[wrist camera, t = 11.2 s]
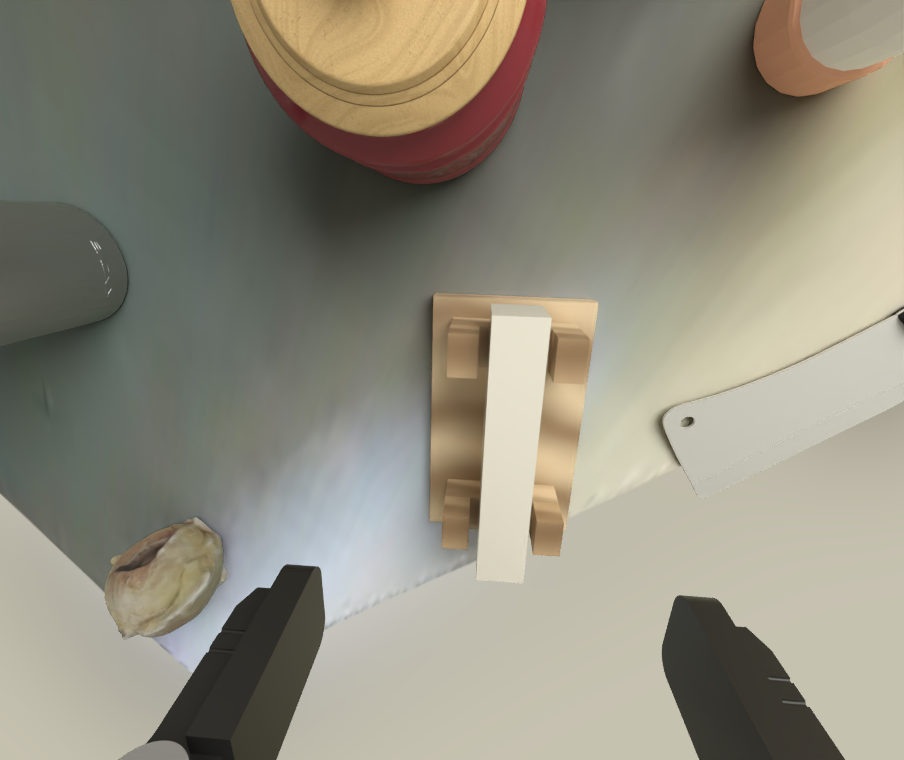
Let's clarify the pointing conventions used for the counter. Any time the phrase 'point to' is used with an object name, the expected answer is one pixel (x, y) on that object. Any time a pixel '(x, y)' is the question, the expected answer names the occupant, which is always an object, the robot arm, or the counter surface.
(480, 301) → the wooden plate with pegs
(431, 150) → the canister
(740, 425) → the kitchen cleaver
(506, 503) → the cream white rectangular bar
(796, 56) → the salt shaker
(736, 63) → the counter surface
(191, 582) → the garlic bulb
